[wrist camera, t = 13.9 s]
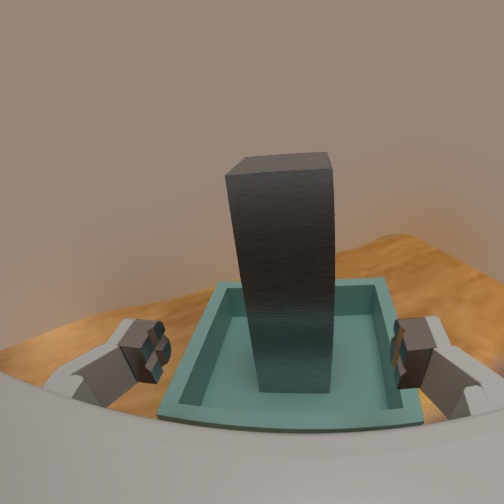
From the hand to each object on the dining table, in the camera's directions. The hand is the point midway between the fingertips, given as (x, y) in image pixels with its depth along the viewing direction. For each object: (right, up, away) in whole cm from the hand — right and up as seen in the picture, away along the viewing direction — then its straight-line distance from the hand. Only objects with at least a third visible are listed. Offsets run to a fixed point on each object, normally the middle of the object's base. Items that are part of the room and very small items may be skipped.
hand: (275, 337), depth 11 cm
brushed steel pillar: (+2, -5, +11) cm, 12 cm away
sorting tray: (+2, -6, +11) cm, 13 cm away
